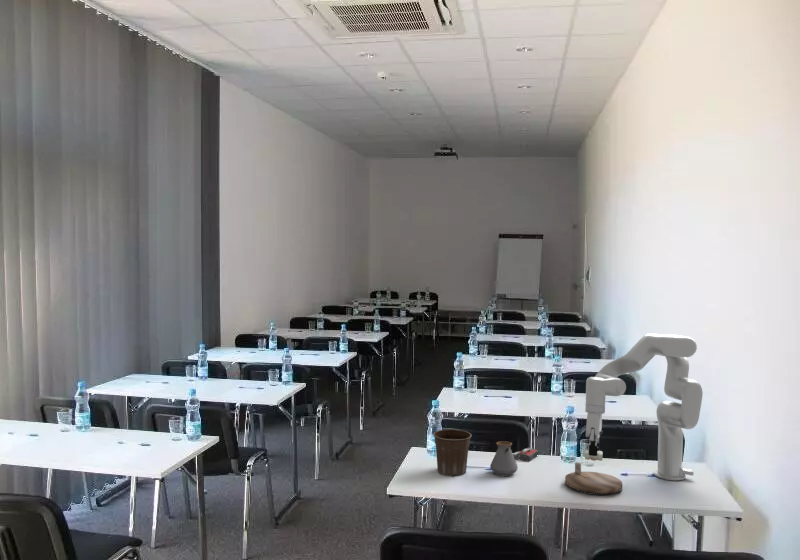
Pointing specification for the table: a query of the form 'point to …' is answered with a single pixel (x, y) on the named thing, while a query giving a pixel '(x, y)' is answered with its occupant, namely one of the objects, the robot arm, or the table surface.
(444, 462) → the plant pot
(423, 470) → the table surface
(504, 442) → the coffee pot
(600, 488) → the turntable platter
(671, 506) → the table surface
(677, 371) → the robot arm
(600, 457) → the valve
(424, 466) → the table surface
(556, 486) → the table surface
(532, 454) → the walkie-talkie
